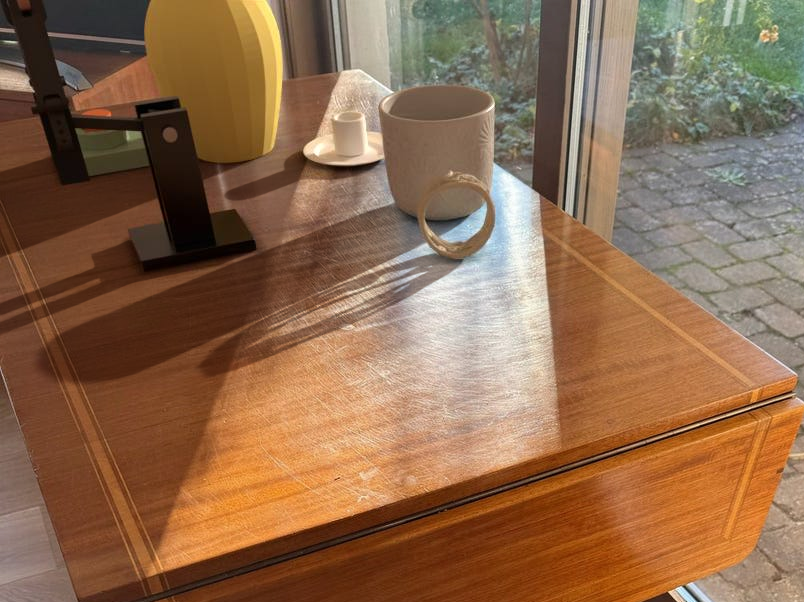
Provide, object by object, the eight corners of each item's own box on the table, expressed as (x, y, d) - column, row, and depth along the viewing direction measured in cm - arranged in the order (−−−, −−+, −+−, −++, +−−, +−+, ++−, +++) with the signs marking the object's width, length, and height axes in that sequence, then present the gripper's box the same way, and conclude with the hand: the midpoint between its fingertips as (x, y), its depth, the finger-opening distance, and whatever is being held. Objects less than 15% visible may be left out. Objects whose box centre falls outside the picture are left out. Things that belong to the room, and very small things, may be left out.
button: (86, 135, 121) (82, 120, 120) (83, 126, 124) (78, 111, 122) (116, 131, 122) (112, 115, 121) (112, 122, 125) (107, 107, 123)
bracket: (144, 272, 102) (104, 130, 92) (130, 239, 108) (91, 102, 98) (257, 249, 105) (230, 109, 95) (237, 219, 111) (210, 84, 101)
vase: (178, 179, 120) (111, -105, 100) (164, 137, 131) (101, -128, 111) (308, 160, 123) (267, -119, 103) (283, 120, 134) (243, -139, 114)
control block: (64, 180, 121) (53, 146, 118) (55, 154, 127) (44, 121, 124) (162, 163, 124) (154, 129, 121) (148, 139, 130) (140, 106, 127)
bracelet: (497, 258, 102) (496, 178, 96) (421, 263, 102) (415, 184, 96) (493, 241, 105) (491, 163, 99) (419, 247, 104) (413, 169, 99)
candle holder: (372, 176, 119) (369, 138, 116) (286, 165, 122) (280, 128, 119) (413, 142, 127) (411, 106, 124) (331, 133, 130) (327, 97, 127)
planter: (393, 234, 107) (383, 126, 99) (383, 191, 116) (373, 88, 108) (504, 223, 108) (503, 116, 100) (486, 181, 117) (484, 80, 109)
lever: (53, 141, 93) (50, 113, 91) (47, 125, 96) (44, 98, 94) (184, 147, 98) (183, 121, 96) (174, 131, 101) (173, 106, 99)
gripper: (43, -110, 76) (124, 197, 92) (21, -140, 88) (97, 138, 104) (-61, -102, 74) (42, 211, 90) (-68, -133, 86) (24, 149, 102)
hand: (71, 171), depth 97 cm, fingers closed on lever, 5 cm apart
